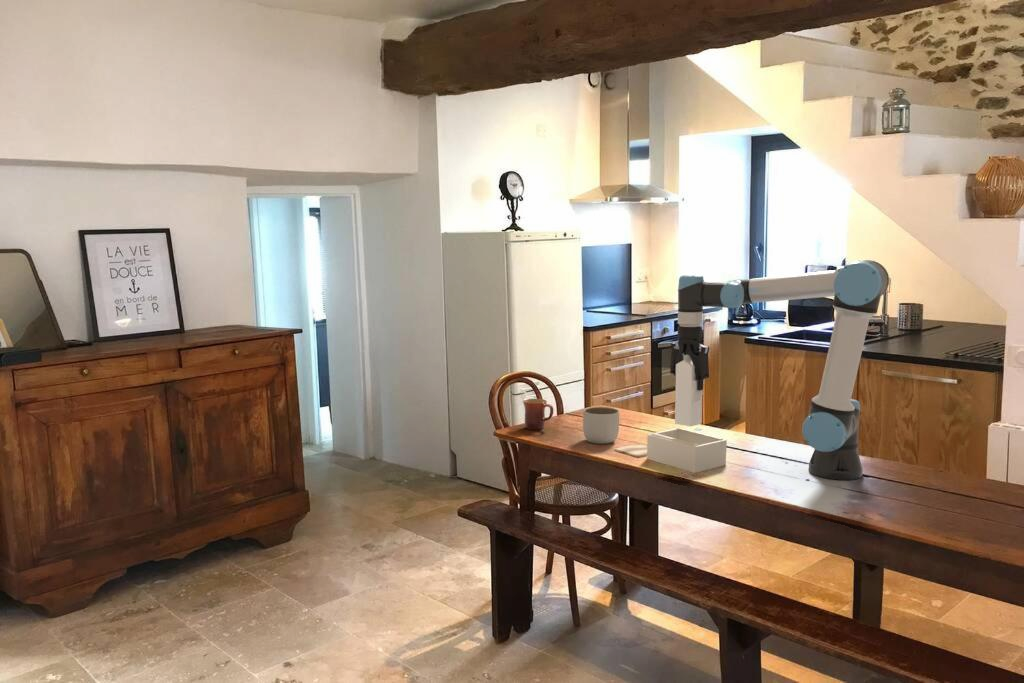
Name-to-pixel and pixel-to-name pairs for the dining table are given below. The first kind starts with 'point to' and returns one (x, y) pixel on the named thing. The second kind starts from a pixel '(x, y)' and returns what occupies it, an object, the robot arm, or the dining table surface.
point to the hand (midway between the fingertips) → (688, 398)
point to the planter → (601, 424)
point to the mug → (536, 413)
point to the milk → (686, 395)
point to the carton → (686, 449)
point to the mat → (633, 450)
